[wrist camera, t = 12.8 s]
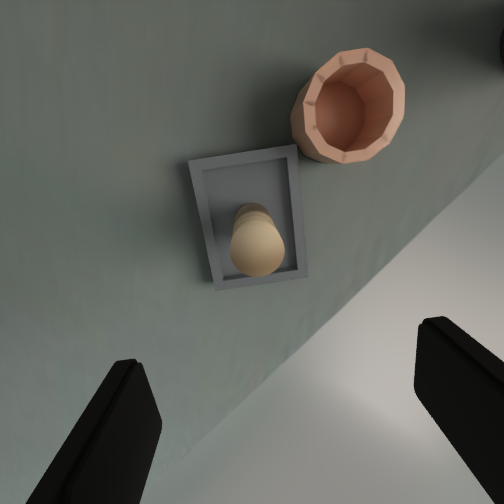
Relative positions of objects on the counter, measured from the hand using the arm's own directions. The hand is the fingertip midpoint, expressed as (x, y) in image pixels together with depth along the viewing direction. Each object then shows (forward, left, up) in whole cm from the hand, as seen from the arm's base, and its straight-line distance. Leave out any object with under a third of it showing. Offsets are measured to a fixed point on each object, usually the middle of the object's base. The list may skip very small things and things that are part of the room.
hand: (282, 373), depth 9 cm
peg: (0, 0, -25) cm, 25 cm away
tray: (0, 0, -26) cm, 26 cm away
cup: (-10, +10, -26) cm, 30 cm away
